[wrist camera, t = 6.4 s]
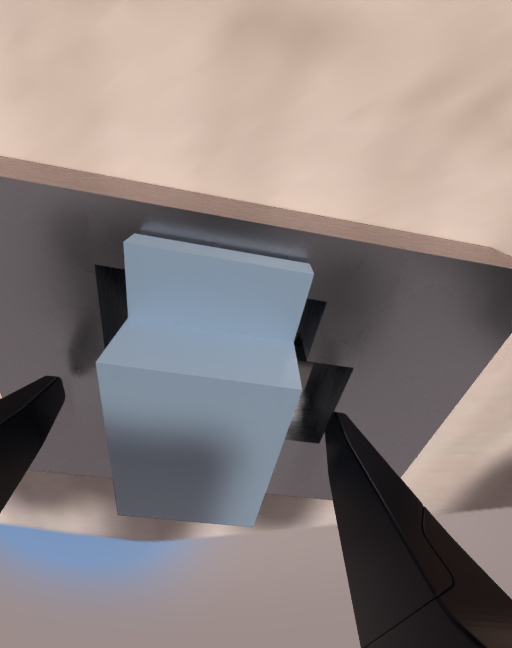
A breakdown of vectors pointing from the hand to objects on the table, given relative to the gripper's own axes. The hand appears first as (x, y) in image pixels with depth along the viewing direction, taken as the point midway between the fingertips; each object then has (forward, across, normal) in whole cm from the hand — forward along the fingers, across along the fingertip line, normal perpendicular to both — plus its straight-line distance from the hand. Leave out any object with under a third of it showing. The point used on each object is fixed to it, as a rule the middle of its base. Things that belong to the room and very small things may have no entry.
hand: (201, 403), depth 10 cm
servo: (+3, 0, 0) cm, 3 cm away
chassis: (+3, -1, 0) cm, 3 cm away
